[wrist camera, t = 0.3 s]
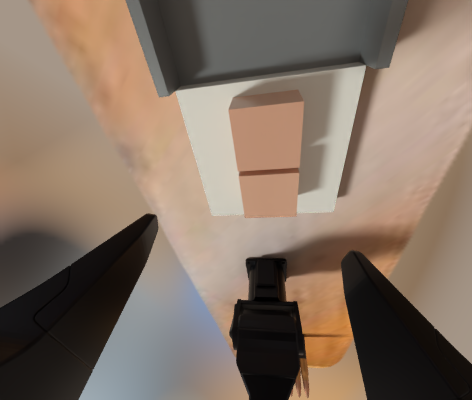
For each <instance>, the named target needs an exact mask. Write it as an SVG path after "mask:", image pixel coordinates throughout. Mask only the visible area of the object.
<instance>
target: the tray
mask: <svg viewBox="0 0 472 400" xmlns="http://www.w3.org/2000/svg"><path fill="white" fill-rule="evenodd" d="M126 3H127V6H128V9H129V12H130V15H131V17H132V20H133V23H134V26H135V29H136V32H137V35H138V38H139V41H140V44H141V46H142V49H143V52H144V55H145V58H146V61H147V64H148V67H149V70H150V73H151V75H152V78H153V81H154V84H155V87H156V90H157V93H158V96H159V97H165V96H170V95H171V94H172V93H173V92H175V91H176V90H177V89H178V88H179V87H181V86H187V85H194V84H201V83H209V82H216V81H223V80H230V79H238V78H245V77H252V76H260V75H267V74H274V73H282V72H289V71H296V70H304V69H311V68H318V67H326V66H333V65H340V64H348V63H355V62H360V63H362V64H364V65H367V66H369V67H371V68H374V69H381V68H389V66H390V63H391V59H392V56H393V52H394V49H395V45H396V42H397V38H398V35H399V31H400V28H401V24H402V20H403V17H404V13H405V10H406V6H407V3H408V0H126Z"/></svg>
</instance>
